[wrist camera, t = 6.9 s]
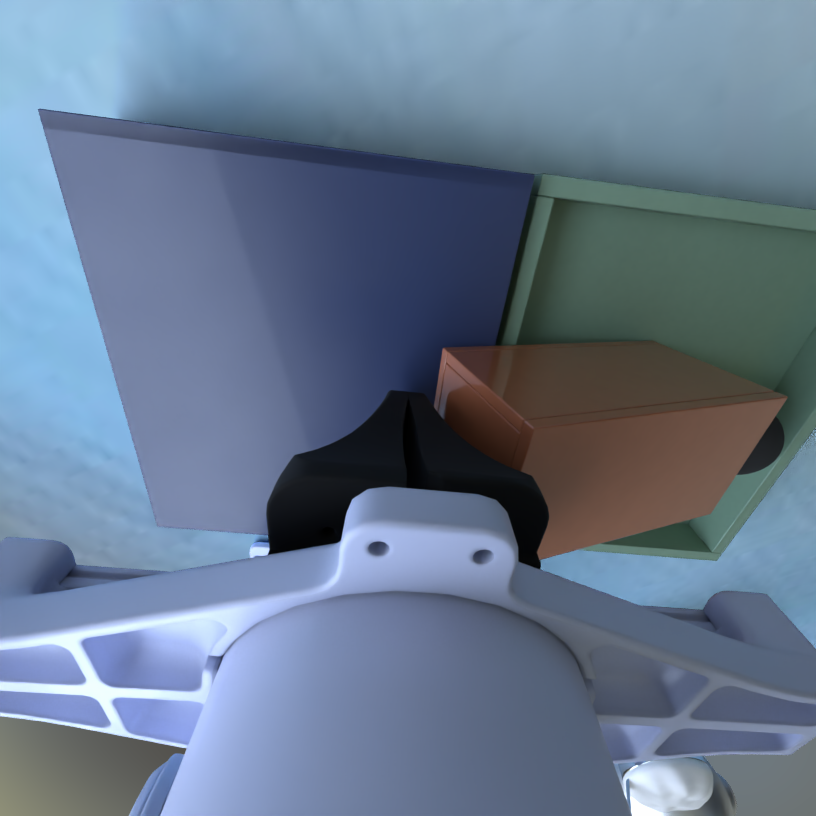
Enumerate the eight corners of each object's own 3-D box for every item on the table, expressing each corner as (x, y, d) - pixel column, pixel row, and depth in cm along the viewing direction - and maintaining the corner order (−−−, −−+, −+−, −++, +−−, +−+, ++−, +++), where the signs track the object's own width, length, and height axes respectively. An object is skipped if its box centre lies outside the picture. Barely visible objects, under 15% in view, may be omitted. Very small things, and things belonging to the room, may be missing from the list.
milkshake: (568, 611, 27) (647, 815, 18) (644, 614, 27) (758, 817, 18) (552, 648, 29) (615, 846, 20) (622, 651, 29) (714, 848, 20)
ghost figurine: (613, 758, 38) (673, 925, 30) (569, 723, 35) (624, 901, 26) (705, 732, 36) (802, 907, 27) (668, 691, 32) (766, 879, 23)
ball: (733, 504, 17) (656, 455, 18) (759, 460, 18) (686, 418, 20) (793, 459, 14) (696, 408, 16) (817, 412, 16) (727, 370, 17)
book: (442, 503, 22) (447, 549, 19) (190, 482, 21) (157, 526, 18) (510, 177, 14) (535, 174, 11) (114, 126, 13) (37, 108, 11)
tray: (687, 526, 23) (716, 561, 21) (449, 505, 22) (453, 540, 20) (881, 224, 15) (964, 229, 13) (521, 176, 14) (542, 173, 12)
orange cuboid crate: (423, 467, 16) (488, 574, 12) (442, 346, 13) (533, 428, 9) (609, 439, 19) (711, 514, 15) (652, 339, 17) (789, 396, 12)
